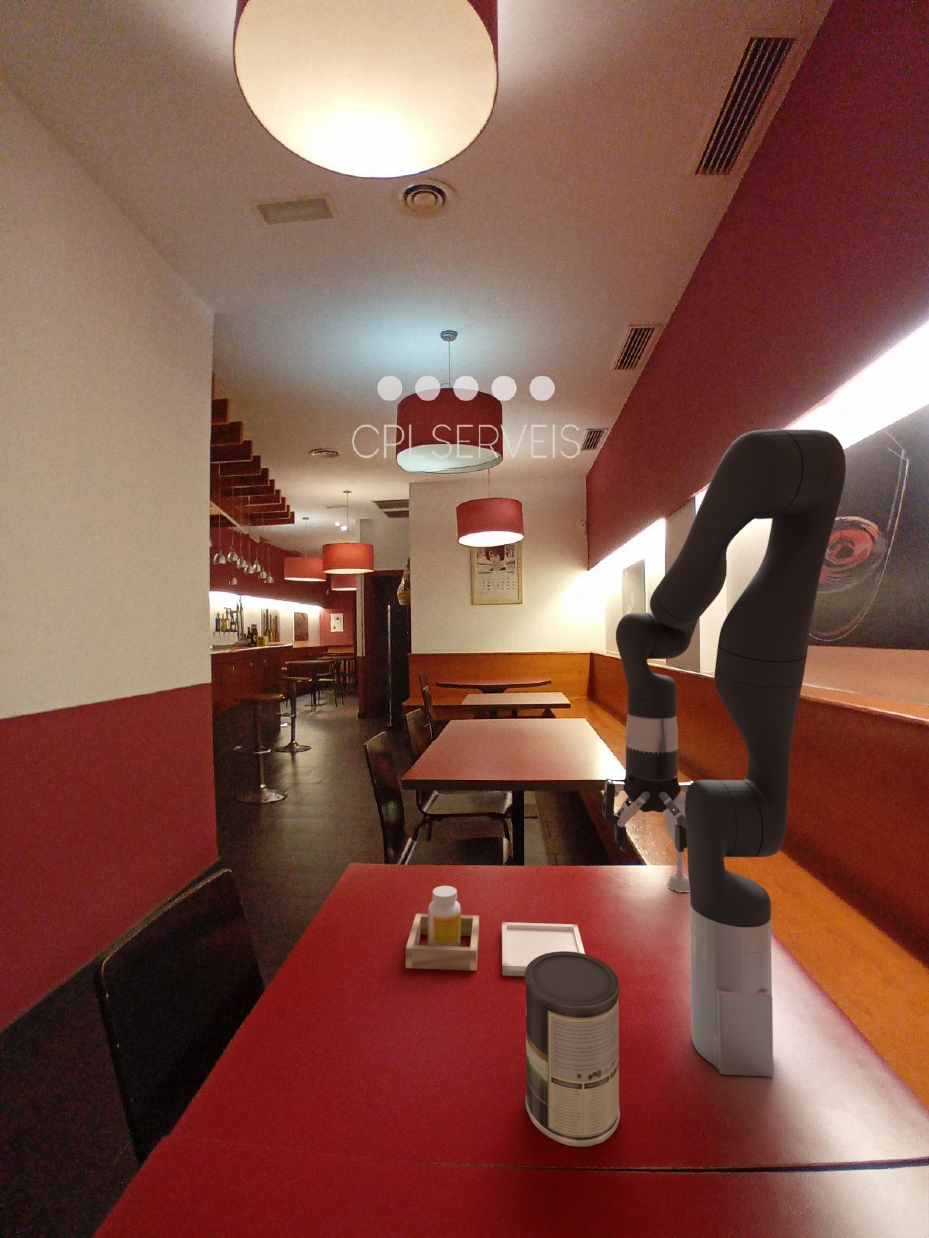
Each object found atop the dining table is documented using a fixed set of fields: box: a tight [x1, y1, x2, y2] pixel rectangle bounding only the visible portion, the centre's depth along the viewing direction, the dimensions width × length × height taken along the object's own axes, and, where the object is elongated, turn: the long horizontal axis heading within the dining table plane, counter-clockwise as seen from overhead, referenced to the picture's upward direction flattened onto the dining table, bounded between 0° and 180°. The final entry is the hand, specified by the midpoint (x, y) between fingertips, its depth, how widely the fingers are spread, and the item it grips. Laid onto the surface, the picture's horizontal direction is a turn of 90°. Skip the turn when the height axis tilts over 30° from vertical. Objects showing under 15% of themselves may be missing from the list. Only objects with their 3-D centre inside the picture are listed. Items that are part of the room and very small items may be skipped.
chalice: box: [663, 793, 690, 892], centre depth 117 cm, size 7×7×18 cm
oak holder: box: [405, 913, 480, 972], centre depth 94 cm, size 11×11×3 cm
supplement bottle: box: [427, 885, 462, 947], centre depth 94 cm, size 5×5×10 cm
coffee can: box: [524, 951, 621, 1148], centre depth 63 cm, size 10×10×14 cm
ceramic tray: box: [501, 921, 586, 977], centre depth 93 cm, size 13×13×2 cm
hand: (650, 849), depth 87 cm, fingers open, 8 cm apart
